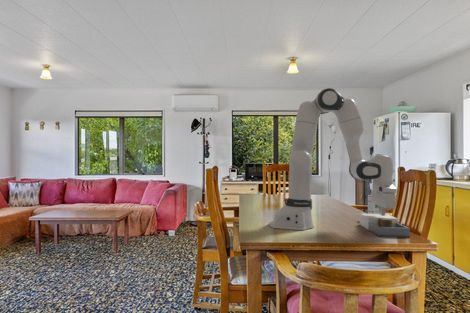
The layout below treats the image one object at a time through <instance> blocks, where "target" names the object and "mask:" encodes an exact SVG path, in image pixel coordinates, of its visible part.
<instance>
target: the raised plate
mask: <svg viewBox="0 0 470 313" xmlns="http://www.w3.org/2000/svg"><path fill="white" fill-rule="evenodd" d="M379 219H390V220H392V227H396V223H399V222H398V220H399V219H398V218H397V217H395V216H392V215H390V214H388V213H385V216H382V215H380V214H368V213H361V212H360V213H359V225H360V226H361V227H363V228H364V229H366V230H368V222H371V223H373V224H375V225H377V226H378V224H379ZM368 231H369V230H368Z"/></svg>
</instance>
